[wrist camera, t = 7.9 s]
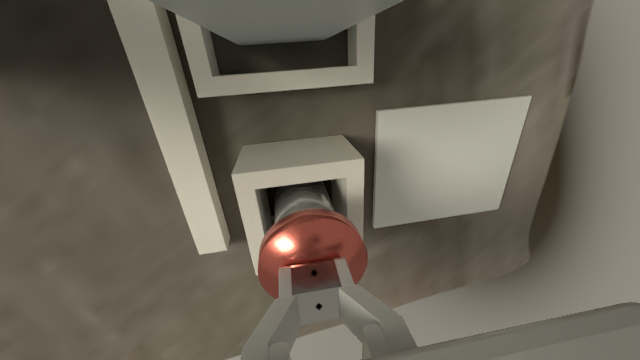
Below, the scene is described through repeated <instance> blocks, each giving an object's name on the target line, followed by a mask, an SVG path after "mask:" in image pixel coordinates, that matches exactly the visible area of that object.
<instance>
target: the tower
mask: <svg viewBox="0 0 640 360" xmlns="http://www.w3.org/2000/svg"><path fill="white" fill-rule="evenodd" d="M231 176H232V180H233V184H234V188H235V192H236V196H237V200H238V204H239V209H240V213H241V217H242V221H243V225H244V229H245V233H246V237H247V241H248V245H249V249H250V253H251V257H252V262H253V266H254V270H255V274H256V275H258V259H259V249H260V245H261V242H262V239H263V237H264V236H265V234H266V233H267V231H268V230H269V229H270V228H271V227H272V226H273V225H274V224H275V216H271V213H270V208H269V202H268V197H267V191H266V188H270V187H278V186H285V185H293V184H301V183H309V182H316V181H324V180H331V192H332V205H333V208H334V210H335V212H337V213H339V214H342V215H343V216H345V217H347V218H348V219H349V220H350V221H351V222H352V223H353V224H354V225H355V227H356V228H357V230H358V232H359V234H360V236H361V238H362V240H363V218H364V158H363V157H362V155H361V154H360V153H359V152H358V151H357V150H356V149H355V148H354V147H353V146H352V145H351V144H350V143H349V141H348V140H347V139H346V138H345V137H344V136H343V135H335V136H326V137H316V138H307V139H298V140H289V141H280V142H270V143H261V144H252V145H243V147H242V149H241V152H240V154H239V157H238V159H237V162H236V164H235V167H234V169H233V171H232V174H231Z"/></svg>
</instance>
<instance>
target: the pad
mask: <svg viewBox="0 0 640 360" xmlns="http://www.w3.org/2000/svg"><path fill="white" fill-rule="evenodd" d="M531 98H532V96H529V95H525V96H515V97H505V98H495V99H484V100H474V101H464V102H454V103H444V104H434V105H424V106H413V107H403V108H393V109H383V110H376V131H375V160H374V190H373V220H372V226H373V228H380V227H387V226H393V225H400V224H406V223H413V222H419V221H425V220H432V219H438V218H445V217H451V216H457V215H464V214H470V213H477V212H483V211H490V210H496V209H499V206H500V202H501V199H502V196H503V192H504V189H505V186H506V182H507V179H508V175H509V172H510V169H511V165H512V162H513V159H514V155H515V152H516V148H517V145H518V142H519V138H520V135H521V132H522V128H523V125H524V121H525V118H526V115H527V111H528V108H529V105H530V101H531Z"/></svg>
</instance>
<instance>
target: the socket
mask: <svg viewBox="0 0 640 360" xmlns="http://www.w3.org/2000/svg"><path fill="white" fill-rule="evenodd" d="M107 2H108V5H109V8H110V11H111V13H112V16H113V19H114V21H115V24H116V27H117V30H118V32H119V35H120V38H121V41H122V43H123V46H124V49H125V52H126V54H127V57H128V60H129V63H130V65H131V68H132V71H133V74H134V76H135V79H136V82H137V85H138V87H139V90H140V93H141V96H142V98H143V101H144V104H145V107H146V109H147V112H148V115H149V118H150V120H151V123H152V126H153V129H154V131H155V134H156V137H157V140H158V142H159V145H160V148H161V151H162V153H163V156H164V159H165V162H166V164H167V167H168V170H169V173H170V175H171V178H172V181H173V184H174V186H175V189H176V192H177V195H178V197H179V200H180V203H181V206H182V208H183V211H184V214H185V216H186V219H187V222H188V225H189V227H190V230H191V233H192V236H193V238H194V241H195V244H196V247H197V249H198V252H199V255H200V254H206V253H212V252H219V251H225V250H227V248H228V244H229V241H230V235H229V232H228V228H227V224H226V221H225V217H224V214H223V210H222V207H221V203H220V200H219V196H218V192H217V189H216V185H215V182H214V178H213V175H212V171H211V168H210V164H209V161H208V157H207V153H206V150H205V146H204V143H203V139H202V136H201V132H200V129H199V125H198V121H197V118H196V114H195V111H194V107H193V104H192V100H191V97H190V93H189V90H188V86H187V82H186V79H185V75H184V72H183V68H182V65H181V61H180V58H179V54H178V50H177V47H176V43H175V40H174V36H173V33H172V29H171V26H170V22H169V19H168V15H167V11H166V9H165V8H163V7H161V6H159V5H157V4H155V3H153V2H151V1H149V0H107ZM175 15H176V19H177V23H178V26H179V30H180V34H181V38H182V41H183V45H184V49H185V52H186V56H187V60H188V63H189V67H190V71H191V75H192V78H193V82H194V86H195V89H196V93H197V97H198V98H204V97H215V96H227V95H239V94H251V93H262V92H274V91H286V90H298V89H309V88H321V87H333V86H344V85H356V84H368V83H373V79H374V42H375V15H374V16H372V17H370V18H368V19H366V20H364V21H362V22H360V23H358V24H356V25H354V26H351V27H349V28H347V31H348V66H335V67H322V68H309V69H296V70H282V71H269V72H256V73H243V74H230V75H220V74H219V70H218V65H217V61H216V56H215V52H214V47H213V43H212V38H211V34H210V30H208V29H205V28H203V27H201V26H199V25H197V24H195V23H193V22H191V21H189V20H187V19H185V18H183V17H181V16H179V15H177V14H175Z"/></svg>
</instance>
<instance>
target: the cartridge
mask: <svg viewBox="0 0 640 360" xmlns="http://www.w3.org/2000/svg"><path fill="white" fill-rule="evenodd" d="M149 1H151V2H153V3H155V4H157V5H159V6H161V7H163V8H165V9H167V10H169V11H171V12H173V13H175V14H177V15H179V16H181V17H183V18H185V19H187V20H189V21H191V22H193V23H195V24H197V25H199V26H201V27H203V28H205V29H208V30H210V31H212V32H214V33H216V34H218V35H220V36H222V37H224V38H226V39H228V40H230V41H232V42H234V43H236V44H238V45H240V46H242V45H258V44H274V43H289V42H305V41H321V40H325V39H327V38H329V37H331V36H333V35H335V34H337V33H339V32H341V31H343V30H345V29H347V28H349V27H351V26H354V25H356V24H358V23H360V22H362V21H364V20H366V19H368V18H370V17H372V16H374V15H376V14H378V13H380V12H382V11H384V10H386V9H388V8H390V7H392V6H394V5H396V4H398V3H400V2H402V1H404V0H149Z"/></svg>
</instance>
